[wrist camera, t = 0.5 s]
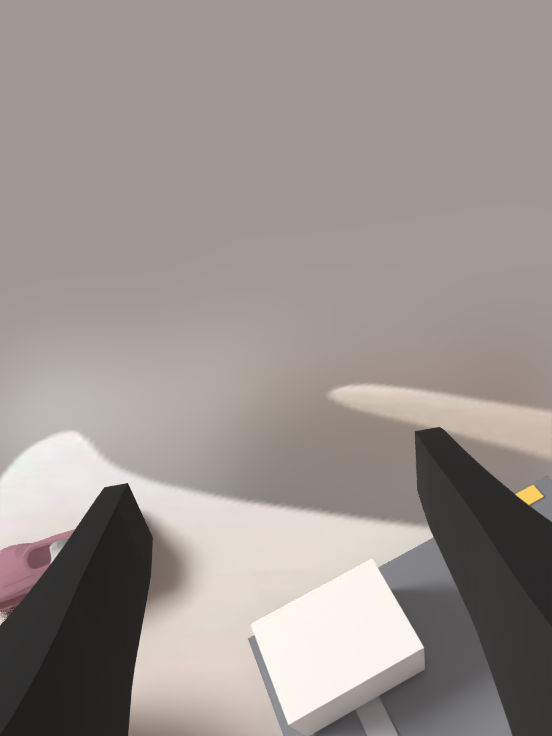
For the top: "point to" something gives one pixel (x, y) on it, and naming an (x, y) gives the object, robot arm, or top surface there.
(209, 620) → the top surface
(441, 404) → the top surface
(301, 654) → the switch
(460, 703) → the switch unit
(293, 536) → the top surface
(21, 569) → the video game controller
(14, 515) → the top surface
